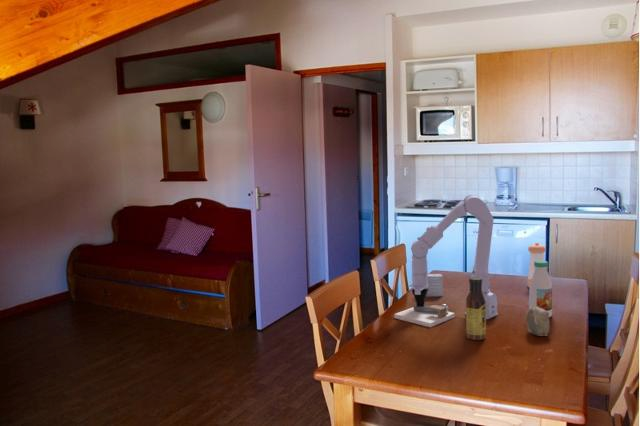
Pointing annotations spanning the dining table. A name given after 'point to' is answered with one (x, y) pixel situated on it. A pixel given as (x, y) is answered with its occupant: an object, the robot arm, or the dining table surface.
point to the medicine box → (435, 285)
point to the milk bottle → (541, 288)
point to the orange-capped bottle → (535, 258)
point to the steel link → (425, 308)
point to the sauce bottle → (475, 310)
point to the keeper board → (425, 316)
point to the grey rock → (538, 321)
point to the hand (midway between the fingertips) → (420, 308)
